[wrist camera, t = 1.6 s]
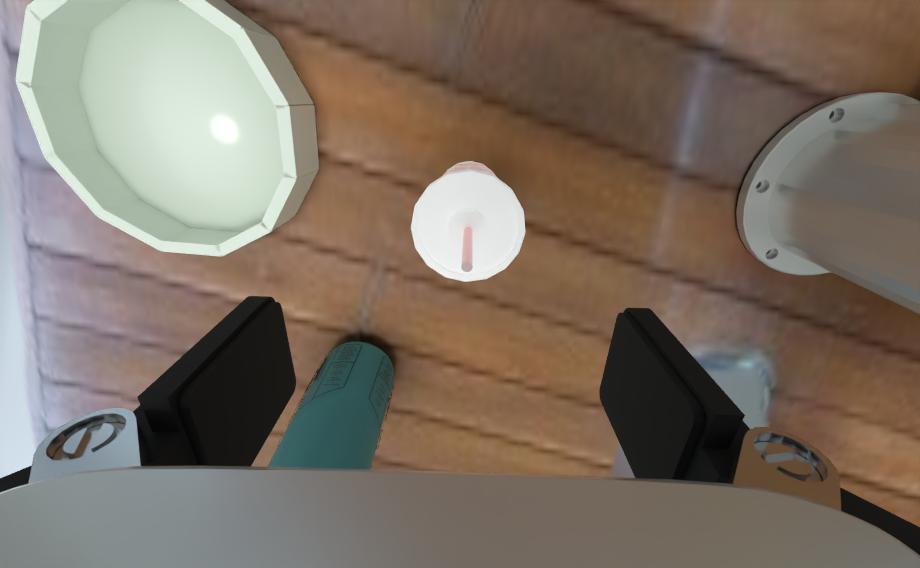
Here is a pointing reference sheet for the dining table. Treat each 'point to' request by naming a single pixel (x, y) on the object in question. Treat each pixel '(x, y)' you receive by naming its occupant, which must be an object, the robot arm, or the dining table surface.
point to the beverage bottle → (340, 411)
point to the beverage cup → (468, 223)
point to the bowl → (169, 118)
